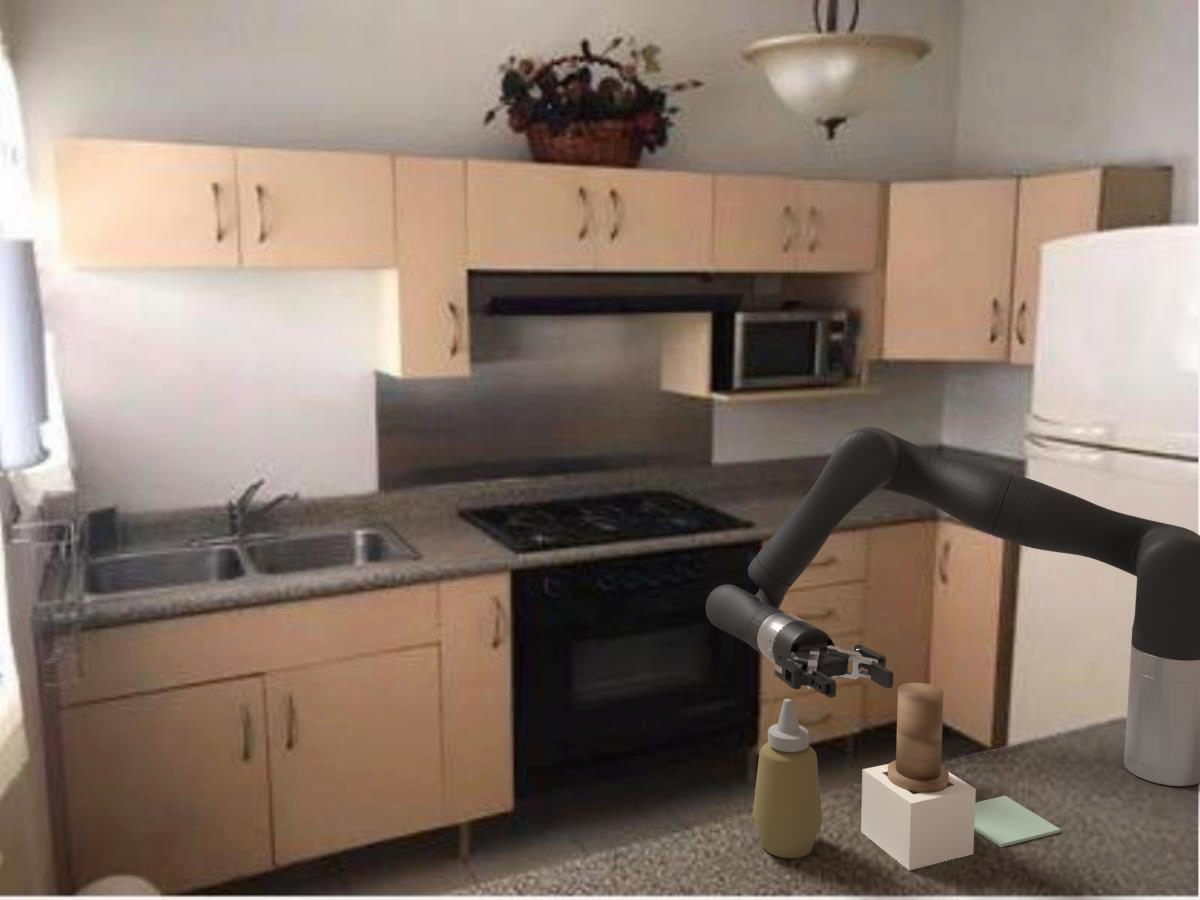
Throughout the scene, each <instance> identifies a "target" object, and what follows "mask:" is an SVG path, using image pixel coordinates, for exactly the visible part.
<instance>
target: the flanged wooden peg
mask: <svg viewBox="0 0 1200 900" xmlns="http://www.w3.org/2000/svg"><path fill="white" fill-rule="evenodd" d="M896 713H897V715H896V748H895V749H896V750H895V752H896V753H895V760H893V761H891V762H890V763H888V764H889V765H888V779H889V780H890V781H891V782H892V783H893V784H894V785H896V786H898V787H900V788H902V789H905V790H908V791H909V792H911V793H912V794H918V793H933V792H938V791H942V790H944V789H945V788H947V786H948V784H949V773H950V772H949V771H948V769H946V768H945V767H944V766H943V765H942V745H943V742H942V741H943V717H944V690H942V689H941V688H940V687H938V686H935V685H932V684H931V683H930V684H929V683H923V682H907V683H903V684H901V685H899V686H898V688H897V712H896ZM948 772H949V773H948Z"/></svg>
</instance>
